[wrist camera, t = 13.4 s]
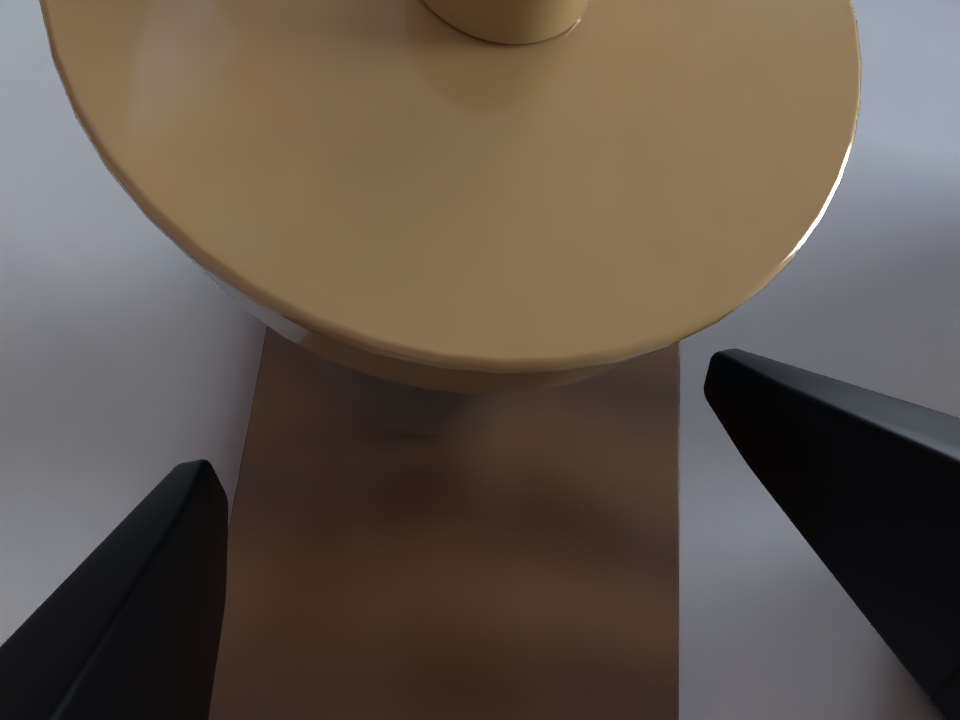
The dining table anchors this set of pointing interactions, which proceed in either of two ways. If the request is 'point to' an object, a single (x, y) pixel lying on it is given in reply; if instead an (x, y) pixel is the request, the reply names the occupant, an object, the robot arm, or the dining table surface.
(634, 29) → the canister
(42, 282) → the dining table surface
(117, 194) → the dining table surface
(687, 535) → the dining table surface
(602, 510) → the board
